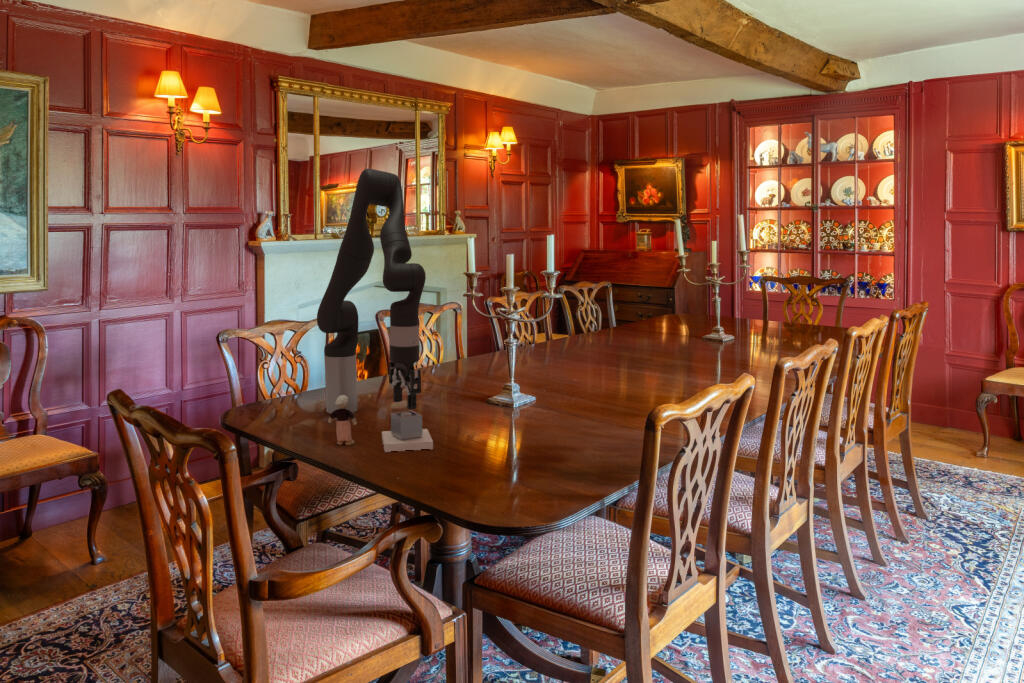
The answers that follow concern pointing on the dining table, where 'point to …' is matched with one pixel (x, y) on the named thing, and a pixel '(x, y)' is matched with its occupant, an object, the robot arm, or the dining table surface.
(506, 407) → the dining table surface
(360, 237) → the robot arm
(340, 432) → the grandmother figurine
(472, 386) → the dining table surface
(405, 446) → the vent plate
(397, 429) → the collar
